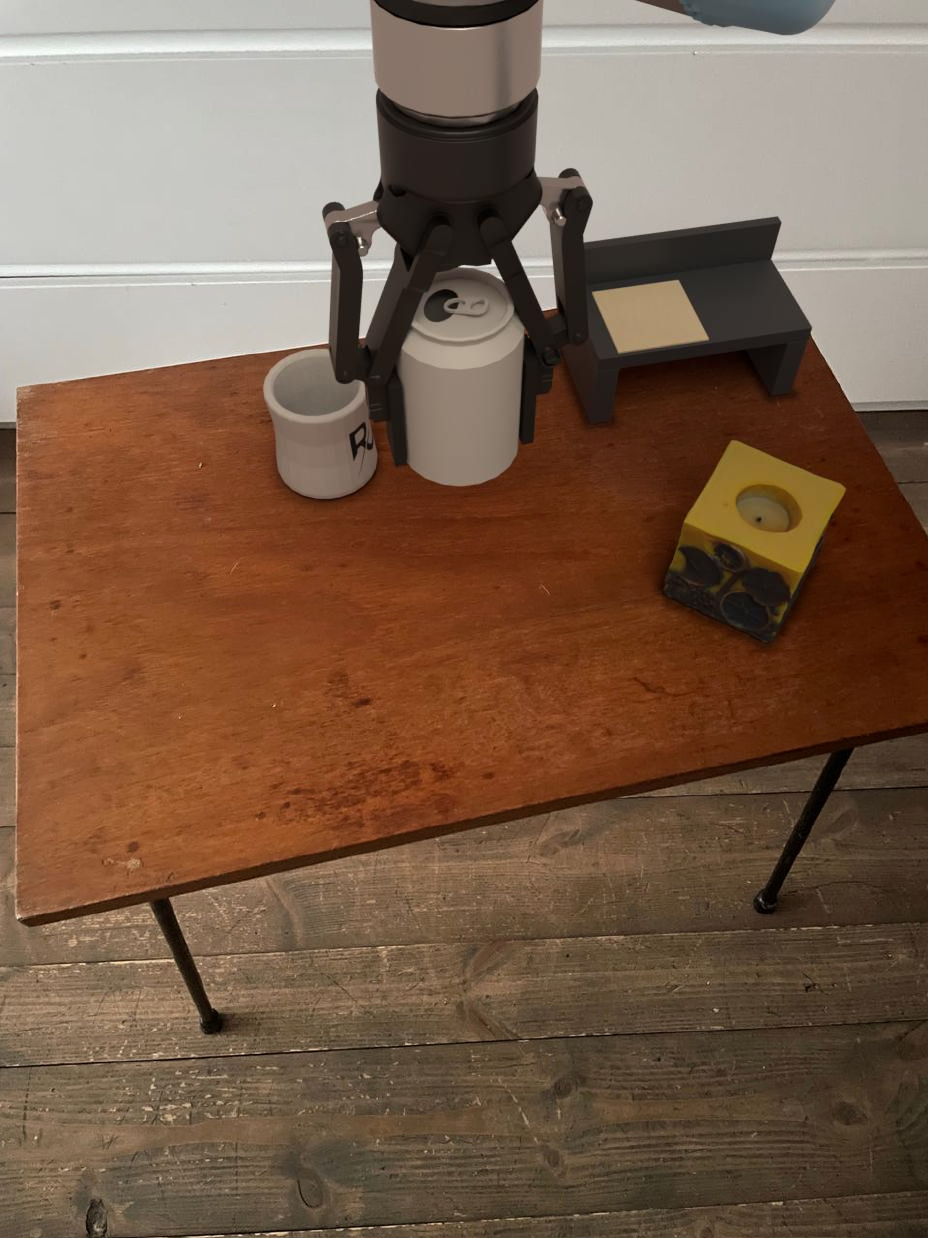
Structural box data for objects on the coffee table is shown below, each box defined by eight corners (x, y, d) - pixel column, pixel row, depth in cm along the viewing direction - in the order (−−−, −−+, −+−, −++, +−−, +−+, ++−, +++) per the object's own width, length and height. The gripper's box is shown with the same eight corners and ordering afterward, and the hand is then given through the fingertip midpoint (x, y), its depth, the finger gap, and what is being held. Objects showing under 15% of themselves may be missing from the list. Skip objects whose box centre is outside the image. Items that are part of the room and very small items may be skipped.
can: (422, 400, 71) (415, 246, 61) (531, 423, 69) (541, 269, 60) (385, 481, 67) (371, 329, 57) (500, 507, 65) (506, 356, 56)
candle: (706, 515, 93) (730, 434, 85) (816, 562, 90) (851, 483, 82) (657, 595, 88) (677, 518, 80) (771, 648, 85) (804, 573, 77)
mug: (365, 510, 94) (356, 429, 85) (266, 496, 95) (247, 414, 86) (395, 412, 101) (389, 328, 92) (302, 400, 101) (288, 316, 93)
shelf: (749, 319, 108) (777, 215, 98) (790, 393, 102) (825, 290, 92) (559, 347, 106) (570, 243, 96) (590, 424, 100) (604, 322, 90)
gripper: (642, 17, 52) (595, 374, 71) (225, 69, 49) (292, 424, 68) (696, 98, 48) (631, 454, 66) (243, 159, 45) (309, 512, 64)
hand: (460, 439), depth 67 cm, fingers closed on can, 7 cm apart
